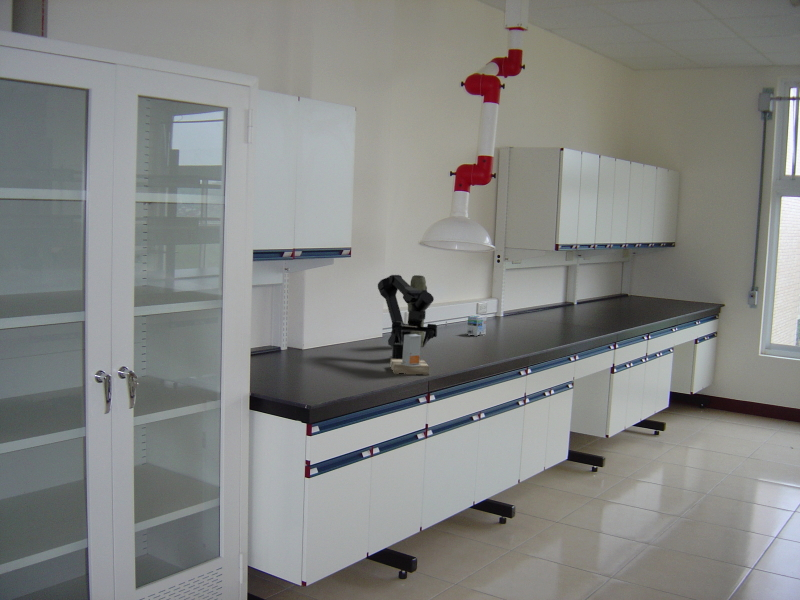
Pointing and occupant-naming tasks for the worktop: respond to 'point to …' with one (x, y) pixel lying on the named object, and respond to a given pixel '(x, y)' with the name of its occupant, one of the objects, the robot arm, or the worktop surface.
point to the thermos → (417, 283)
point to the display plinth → (409, 367)
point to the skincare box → (411, 349)
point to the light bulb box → (476, 325)
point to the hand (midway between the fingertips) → (412, 345)
